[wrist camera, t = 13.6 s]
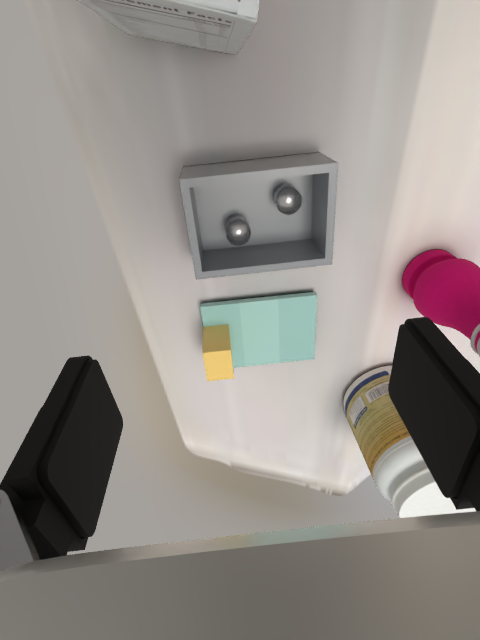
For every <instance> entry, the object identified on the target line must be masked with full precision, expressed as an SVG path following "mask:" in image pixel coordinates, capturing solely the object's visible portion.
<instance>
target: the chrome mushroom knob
mask: <svg viewBox="0 0 480 640" xmlns="http://www.w3.org/2000/svg"><path fill="white" fill-rule="evenodd" d="M273 201H274V203H275V205H276V206H277V208H278V210H279V211H280V212H281V213H283V214H285V215H291V214H294V213H296V212H297V211H298V210H299V209H300V207H301V204H302V197H301V194H300V193H299V192H298V191H297V189H296V188H295V187H294V186H293V185H292V184H290V183H281V184H279V185H278V186H277V187H276V188H275V189H274V191H273Z"/></svg>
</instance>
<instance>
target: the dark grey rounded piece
mask: <svg viewBox="0 0 480 640" xmlns="http://www.w3.org/2000/svg"><path fill="white" fill-rule="evenodd" d="M225 230H226V236H227V239H228V241H229V242H230V243H231V244H233V245H237V246H240V245H243V244H245V243H247V242H248V240H249V239H250V236H251V230H250V227H249V224H248V221H247V219H246V218H245V217H244V216H243V215H241V214H233V215H231V216H229V217H228V219H227V220H226V223H225Z"/></svg>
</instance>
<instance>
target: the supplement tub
mask: <svg viewBox="0 0 480 640" xmlns="http://www.w3.org/2000/svg"><path fill="white" fill-rule="evenodd" d="M391 369H392V366H384V367H379V368H376V369H373V370H371V371H369V372H367V373H365V374H363V375H362V376H360V377H359V378H358V379H357V380H355V381H354V382H353V383H352V385H351V386H350V387H349V388H348V390H347V392H346V394H345V396H344V402H343V404H344V412H345V415H346V417H347V419H348V422H349V424H350V426H351V429H352V431H353V433H354V436H355V438H356V440H357V443H358V445H359V447H360V450H361V452H362V454H363V457H364V459H365V461H366V464H367V466H368V468H369V470H370V473H371V475H372V477H373V480H374V483H375V485H376V487H377V488H378V490H379V491H380V493H381V494H382V495H383V496H384V497H385V498H386V499H387V500H389V501H390V502H392V506H393V508H394V510H395V511H396V512H397V514H398V516H399V518H406V517H416V516H427V515H439V514H451V513H463V512H475V511H476V510H475V508H468V509H459V510H456V508H455V506H454V504H453V502H452V501H451V499H450V498H446V497H444V495H443V494H442V493H441V491H440V489H439V487H438V486H437V484H436V482H435V480H434V478H433V476H432V474H431V473H430V471H429V469H428V467H427V465H426V463H425V462H424V460H423V458H422V456H421V454H420V452H419V450H418V449H417V447H416V445H415V443H414V441H413V439H412V438H411V436H410V434H409V432H408V430H407V428H406V426H405V425H404V423H403V421H402V419H401V417H400V415H399V414H398V412H397V410H396V408H395V406H394V404H393V402H392V401H391V399H390V396H389V392H388V386H389V380H390V375H391Z"/></svg>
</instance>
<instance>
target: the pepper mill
mask: <svg viewBox="0 0 480 640" xmlns="http://www.w3.org/2000/svg"><path fill="white" fill-rule="evenodd" d="M402 284H403V288H404V290H405V291H406V292H407V293H408V294H409V295H410V296H411V298H412V299H413V300H414V304H415V307H416V308H417V310H418V311H419V312H420V313H421V314H422V315H423V316H424V317H428V318H429V319H431V321H432V322H434V323H436V324H439V325H442V326H446V327H450V328H453V329H456V330H458V331H460V332H461V333H463V334H464V335H465V336H467V337H468V338H469V339H470V340H471V347H472V349H473V350H474V351H475V352H476V353H477V354H478V355H479V356H480V268H479V267H478V266H477V265H476V264H474V263H473V262H471V261H468V260H466V259H457V258H456V257H455V256H453V255H452V254H450V253H449V252H447V251H444V250H439V249H437V250H430V251H426V252H424V253H422V254H420V255H418V256H417V257H416V258H414V259H413V260H412V261H411V262H410V263H409V265H408V266H407V268H406V269H405V271H404V274H403V279H402Z"/></svg>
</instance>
